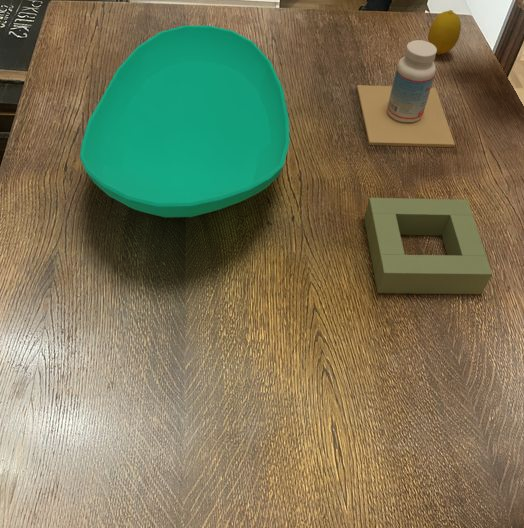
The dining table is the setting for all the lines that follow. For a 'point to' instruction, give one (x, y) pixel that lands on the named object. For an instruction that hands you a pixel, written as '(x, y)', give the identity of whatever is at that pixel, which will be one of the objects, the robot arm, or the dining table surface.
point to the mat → (403, 133)
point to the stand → (426, 266)
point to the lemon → (445, 31)
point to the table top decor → (188, 124)
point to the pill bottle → (412, 82)
